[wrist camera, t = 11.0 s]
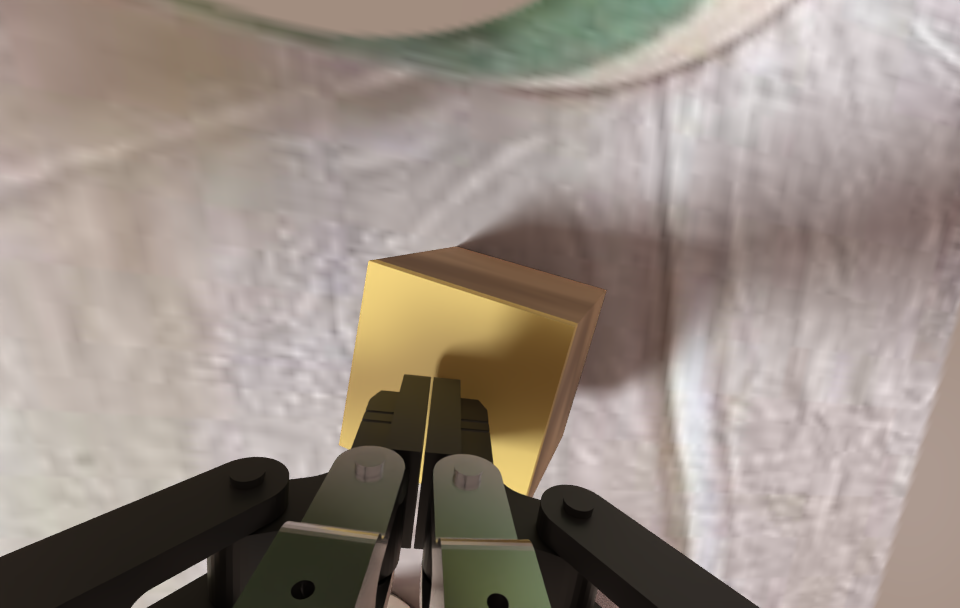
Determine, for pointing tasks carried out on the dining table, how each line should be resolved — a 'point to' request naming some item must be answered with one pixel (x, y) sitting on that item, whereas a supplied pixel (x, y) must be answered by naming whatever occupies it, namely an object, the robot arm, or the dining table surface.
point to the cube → (477, 347)
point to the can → (396, 602)
